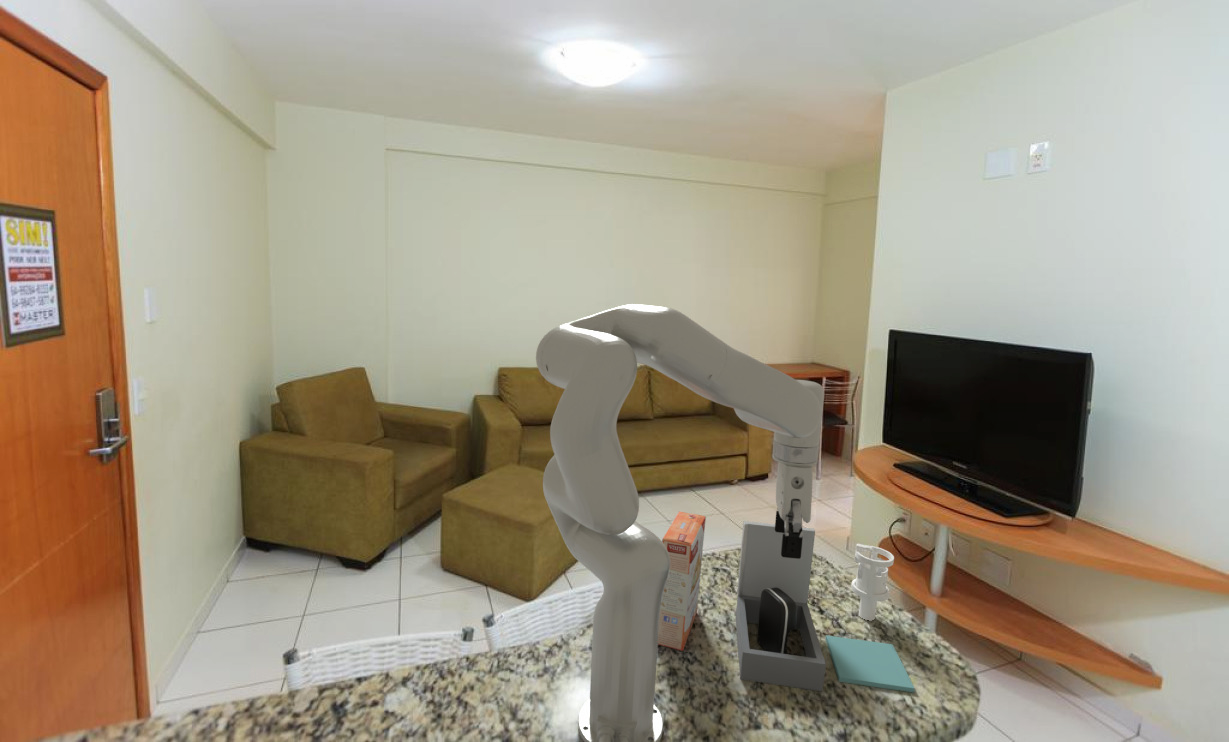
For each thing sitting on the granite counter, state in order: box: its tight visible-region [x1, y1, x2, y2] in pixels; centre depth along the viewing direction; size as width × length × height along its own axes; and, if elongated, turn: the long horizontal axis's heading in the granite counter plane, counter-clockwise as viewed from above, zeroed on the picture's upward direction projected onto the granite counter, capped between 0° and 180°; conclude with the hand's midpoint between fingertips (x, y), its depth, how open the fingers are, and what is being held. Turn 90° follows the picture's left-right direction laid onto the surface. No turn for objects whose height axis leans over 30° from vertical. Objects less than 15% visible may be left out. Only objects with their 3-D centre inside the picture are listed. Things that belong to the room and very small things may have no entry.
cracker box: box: [658, 511, 707, 652], centre depth 109 cm, size 14×6×21 cm, turn 161°
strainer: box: [850, 543, 895, 622], centre depth 117 cm, size 7×7×15 cm
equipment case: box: [735, 520, 827, 692], centre depth 104 cm, size 20×13×20 cm
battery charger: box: [756, 588, 797, 654], centre depth 104 cm, size 7×4×11 cm, turn 20°
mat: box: [825, 634, 916, 694], centre depth 103 cm, size 12×12×1 cm
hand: (786, 544), depth 102 cm, fingers open, 9 cm apart
